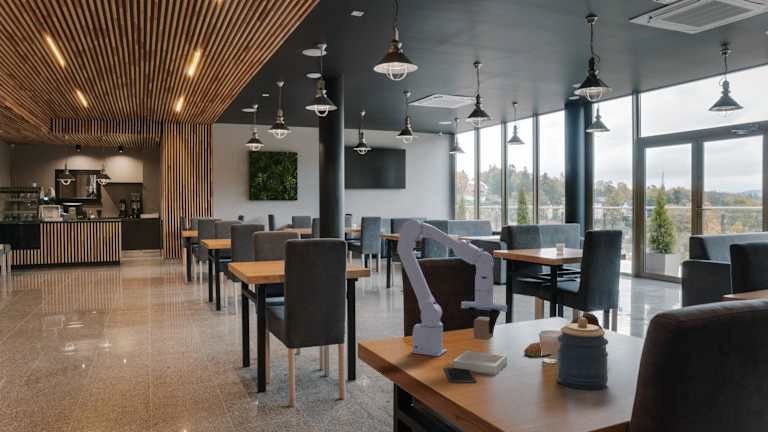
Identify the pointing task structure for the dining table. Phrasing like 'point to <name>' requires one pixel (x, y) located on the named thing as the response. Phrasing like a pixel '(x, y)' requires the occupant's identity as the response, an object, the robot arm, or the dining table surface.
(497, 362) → the bin
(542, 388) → the dining table surface
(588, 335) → the canister
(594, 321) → the ice cream bowl
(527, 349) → the pastry
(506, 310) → the robot arm
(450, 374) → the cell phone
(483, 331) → the beige block
